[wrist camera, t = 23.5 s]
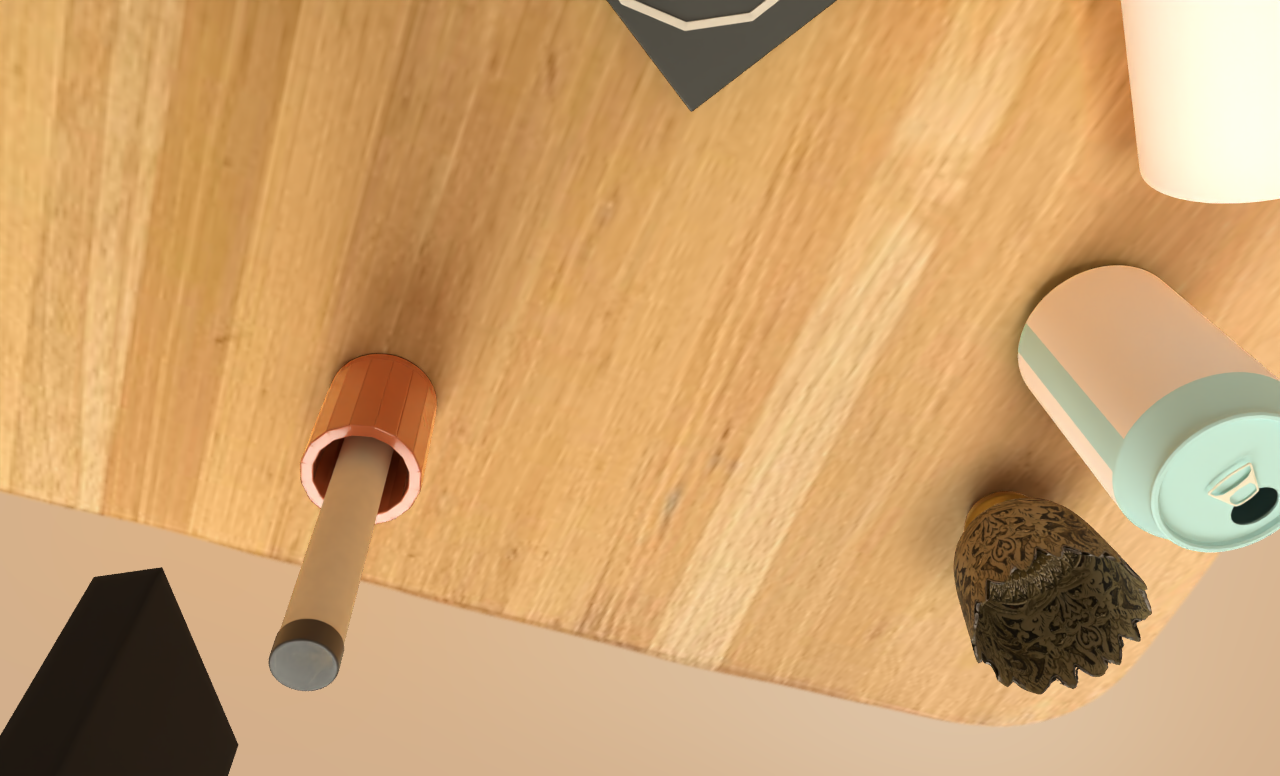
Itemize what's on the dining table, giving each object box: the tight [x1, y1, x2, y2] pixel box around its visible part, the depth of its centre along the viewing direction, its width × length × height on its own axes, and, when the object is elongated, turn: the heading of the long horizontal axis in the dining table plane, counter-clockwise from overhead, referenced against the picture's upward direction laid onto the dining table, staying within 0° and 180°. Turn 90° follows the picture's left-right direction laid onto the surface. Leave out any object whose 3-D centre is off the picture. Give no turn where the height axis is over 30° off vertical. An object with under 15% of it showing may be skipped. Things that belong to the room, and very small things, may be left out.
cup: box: [954, 491, 1152, 694], centre depth 50 cm, size 8×7×8 cm
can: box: [1018, 265, 1280, 552], centre depth 43 cm, size 7×7×12 cm
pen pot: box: [300, 354, 437, 524], centre depth 46 cm, size 5×5×6 cm
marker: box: [269, 436, 394, 691], centre depth 41 cm, size 2×2×16 cm
